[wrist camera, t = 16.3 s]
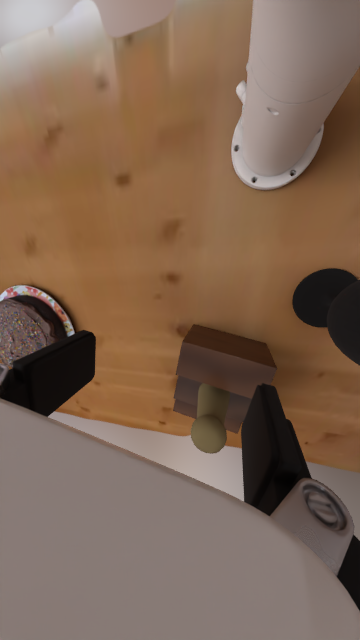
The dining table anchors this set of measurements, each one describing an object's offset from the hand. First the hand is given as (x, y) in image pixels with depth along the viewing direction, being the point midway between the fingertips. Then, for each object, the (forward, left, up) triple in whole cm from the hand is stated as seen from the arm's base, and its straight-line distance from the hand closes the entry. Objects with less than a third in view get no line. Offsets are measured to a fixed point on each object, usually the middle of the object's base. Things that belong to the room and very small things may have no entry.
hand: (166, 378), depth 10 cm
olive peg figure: (+16, -9, -24) cm, 30 cm away
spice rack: (+16, -9, -30) cm, 35 cm away
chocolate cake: (-16, -47, -30) cm, 58 cm away
